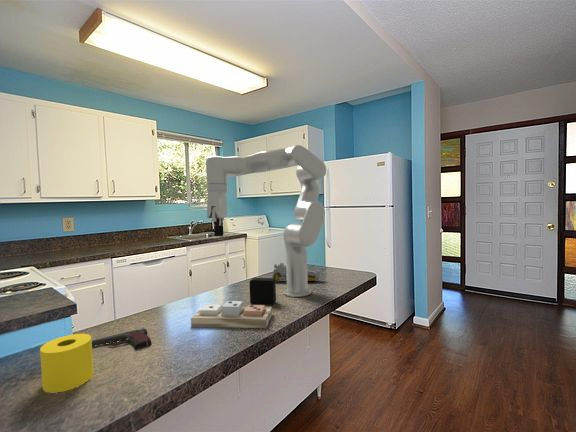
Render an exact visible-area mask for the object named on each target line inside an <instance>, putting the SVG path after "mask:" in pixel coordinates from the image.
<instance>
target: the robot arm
mask: <svg viewBox="0 0 576 432" xmlns="http://www.w3.org/2000/svg"><path fill="white" fill-rule="evenodd" d="M292 167H296V169H295V170H296V171H295V175H296V177H297V180H298V181H299V184H300V193H299V196H298V199H297V202H296V205H295V207H294V211H293V217H294V219H295V220H296V221H298V222H300V223H291V224H287V226H285V228H284V230H283V241H284V247H285V265H286V272H287V274H286V275H287V281H286V288H285V289H284V290H283V294H284V296H287V297H291V298H292V297H293V298H300V297H301V298H302V297H307V296H310V295H311V294H312V289H311V288H309V285H308V275H307V270H308V252H307V248H308V247H312V246H313V245H314V244H315V243H316V242H317V240H318V238H319V235H320V232H321V231H322V230H321V229H322V226H323V224H324V221H325V217H326V216H325V215H326V211H325V207H324V205H323V204H322V203H321V202H319V201H318V199H319V197H320V196H319V195H320V187H319V185H318V182H317V181H318V180H322V179H323V178H325V176H326V175H327V166H326V164H325V163H324V162H323V160H322V159H320V158H319V157H318V156H316V155H315V154H314V153H313V152H312V151H310V150H309V149H307V148H306V147H304V146H303V145H299V144H295V145H292V146H289V147H284V148H283V147H282V148H278V149H271V150H264V151H263V150H262V151H259V152H256V153H254V154H251V155H246V156H238V155H235V156H220V155H211V156H208V157H206V160H205V169H206V190H207V191H206V193H207V196H206V217H207V218H208V219H211V222H212V224H213V235H214V236H213V237H223V236H224V234H225V233H224V220H225V218H226V217H227V216H228V215H227V214H228V210H227V209H228V208H227V206H228V205H227V196H226V193H228V185H227V180H228V179H227V178H233V177H239V176H245V175H249V174H250V175H251V174H257V173H259V174H260V173H266V172H271V171H277V170H282V169H287V168H292Z"/></svg>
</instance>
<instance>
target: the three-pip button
mask: <svg viewBox="0 0 576 432" xmlns="http://www.w3.org/2000/svg"><path fill="white" fill-rule="evenodd" d="M265 307H266V305H258V304H248V307H247V308H246V309H245V311H244V315H245V316H263V315H264V313H265Z"/></svg>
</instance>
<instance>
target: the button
mask: <svg viewBox="0 0 576 432" xmlns="http://www.w3.org/2000/svg"><path fill="white" fill-rule="evenodd" d="M222 306H223V304H209V303H208V304H205V305H204V306H203V307H202V308H200V309H201V310H200V309H199V310H200V315H215V316H217V315H218V314H219V313H220V312H221V311H222Z"/></svg>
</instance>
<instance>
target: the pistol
mask: <svg viewBox="0 0 576 432" xmlns="http://www.w3.org/2000/svg"><path fill="white" fill-rule="evenodd" d="M117 341H119V342H117ZM121 341H122V342H121ZM113 342H116V343H113ZM106 343H109V344H108V345H109V346H110V347H116V345H117V346H120V345H124V344H125V345H126V343H128V344H132V345H133V346H134V350H135V349H136V350H139V349H143V348H146V346H147V347H149V346H151V345H152V339H151V337H150V336H149V335H148V330H147V329H146V328H145V327H141V328H138V329H133V330H129V331H124V332H121V333H117V334H113V335H110V336H105V337H99V338H96V339H93V340H92V347H93V346H95V345H100V344H106ZM111 343H112V344H111ZM148 345H149V346H148ZM142 347H143V348H142ZM138 348H139V349H138Z"/></svg>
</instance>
